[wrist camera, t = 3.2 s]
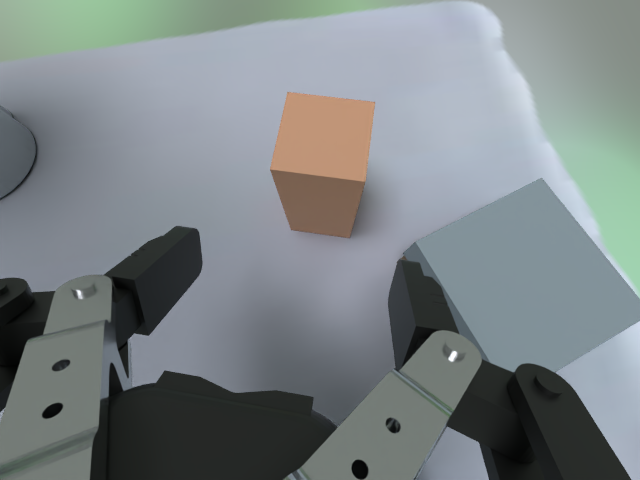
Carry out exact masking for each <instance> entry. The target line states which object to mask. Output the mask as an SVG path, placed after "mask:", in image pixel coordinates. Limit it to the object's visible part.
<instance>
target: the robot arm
mask: <svg viewBox="0 0 640 480" xmlns="http://www.w3.org/2000/svg"><path fill="white" fill-rule="evenodd" d="M35 152H36V145H35V141H34V137H33V135H32V134H31V132H30V131H29V130H28V129H27V128H26V127H25V126H24V125H23V124H21V123H20V122H18V121H17V120H15V119H14V118H12V115H11V112H9V111H8V110H6V109H5V108H3V107H2V106H0V198H1V197H3V196H5V195H6V194H8V193H9V192H10V191H12V190H13V189H14V188H15V187H16V186H17V185H18V184H20V183H21V182H22V180H23V179H24V178H25V176H26V175H27V174H28V172H29V170H30V168H31V166H32V164H33V161H34V158H35ZM201 269H202V254H201V245H200V236H199V232H198V230H197V229H195V228H189V227H182V226H176V227H174V228H173V229H172V230H170V231H169V232H168V233H166V234H165V235H164V236H160V237H158V238H155V239H153V240H151V241H148V242H147V243H146V244H144V245H143V246H142V247H140V248H139V250H136V251H135V252H134V253H132V254H131V256H128V257H127V258H126V259H124V260H123V261H122V262H120V263H119V264H118V265H116V266H115V267H114V268H112V269H111V270H110V271H108V272H107V273H106V274H104V275H88V276H82V277H79V278H76V279H73V280H71V281H68V282H66V283H65V284H63V285H62V286H60V287H59V288H58V289H57V290H56V291H50V292H31V290H30V287H29V285H28V283H27V282H26V281H25V280H23V279H20V278H5V279H0V412H1V411H2V410H3V409H4V408H5V410H4V413H3V416H2V420H1V423H0V480H417V478H418V476H419V474H420V473H421V471H422V469H423V467H424V466H425V464H426V462H427V460H428V459H429V457H430V455H431V454H432V452H433V450H434V448H435V447H436V445H437V443H438V441H439V440H440V438H441V436H442V434H443V433H444V431H445V429H446V428H447V426H448V427H450V428H452V429H454V430H456V431H458V432H460V433H462V434H464V435H466V436H468V437H470V438H472V439H474V440H476V441H478V442H479V444H480V448H481V451H482V455H483V459H484V462H485V466H486V470H487V473H488V477H489V480H631V478H630V477H629V475H628V474H627V472H626V470H625V469H624V467H623V466H622V464H621V462H620V461H619V459H618V458H617V456H616V455H615V453H614V451H613V450H612V448H611V447H610V445H609V444H608V442H607V440H606V439H605V437H604V436H603V434H602V433H601V431H600V429H599V428H598V426H597V425H596V423H595V422H594V420H593V418H592V417H591V415H590V414H589V412H588V410H587V409H586V407H585V406H584V404H583V403H582V401H581V399H580V398H579V396H578V395H577V393H576V392H575V390H574V389H573V388H572V387H571V386H570V384H568V383H567V382H566V381H565V380H564V379H563V378H562V377H560V376H559V375H557V374H556V373H554V372H553V371H551V370H549V369H547V368H545V367H542V366H540V365H536V364H531V363H525V364H521V365H519V366H518V367H517V368H516V370H515V372H511V371H509V370H507V369H504V368H502V367H499V366H497V365H494V364H492V363H490V362H487V361H485V360H484V359H482V358H481V355H480V352H479V350H478V349H477V348H476V346H475V345H474V344H473V343H472V342H471V341H469V340H468V339H467V338H465V337H464V336H462V335H460V334H459V331H458V328H457V326H456V323H455V321H454V318H453V316H452V313H451V311H450V308H449V306H448V303H447V301H446V298H444V297H445V296H444V293H443V291H442V288H441V286H440V285H439V284H438V283H437V282H436V281H435V280H434V279H433V278H432V277H429V276H424V274H423V271H422V268H421V265H420V263H419V262H415V261H409V260H402V259H399V261H398V263H397V266H396V270H395V273H394V277H393V281H392V284H391V288H390V292H389V298H388V309H389V317H390V325H391V333H392V341H393V349H394V357H395V365H396V368H394V369H392V370H391V371H390V372H389V373H388V374H387V375H386V376H385V377H384V378H383V379H382V380H381V381H380V382H379V383H378V385H377V386H376V387H375V388H374V389H373V390H372V391H371V392H370V393H369V394H368V395H367V397H366V398H365V399H364V400H363V401H362V402H361V403H360V404H359V405H358V406H357V407H356V408H355V410H354V411H353V412H352V413H351V414H350V415H349V416H348V417H347V418H346V419H345V420H344V421H343V423H342V424H341V425H340V426H339V427H337V426H336V425H334V424H333V423H332V422H331V421H330V420H328V419H327V418H326V417H324V416H323V415H321V414H319V413H317V412H315V411H313V410H312V404H313V397H310V396H304V395H299V394H293V393H287V392H282V391H276V390H275V391H261V392H246V393H233V392H230V391H228V390H226V389H224V388H222V387H220V386H218V385H216V384H214V383H212V382H210V381H208V380H206V379H203V378H201V377H198V376H192V375H187V374H181V373H175V372H170V371H164V372H163V374H162V375H161V377H160V378H159V379H158V381H157V382H156V383H151V384H145V385H141V386H137V387H133V386H132V362H131V344H130V340H129V338H130V337H131V336H132V335H133V334H134V333H136V334H142V335H148V336H149V335H150V334H151V332H152V331H153V330H154V329H155V328H156V326H157V325H158V324H159V323H160V322H161V320H162V319H163V318H164V317H165V316H166V314H167V313H168V312H169V311H170V310H171V308H172V307H173V306H174V305H175V304H176V302H177V301H178V300H179V299H180V298H181V297H182V295H183V294H184V293H185V292H186V291H187V289H188V288H189V287H190V286H191V285H192V283H193V282H194V281H195V280H196V279H197V277H198V276H199V274H200V272H201Z"/></svg>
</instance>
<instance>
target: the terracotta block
mask: <svg viewBox="0 0 640 480" xmlns="http://www.w3.org/2000/svg"><path fill="white" fill-rule="evenodd" d="M374 107H375V102H370V101H361V100H352V99H343V98H335V97H326V96H317V95H308V94H300V93H291V92H287V97H286V101H285V106H284V110H283V115H282V119H281V123H280V128H279V132H278V137H277V141H276V145H275V150H274V154H273V159H272V163H271V167H270V171H271V173H272V176H273V179H274V182H275V185H276V188H277V191H278V194H279V196H280V199H281V202H282V205H283V208H284V211H285V214H286V217H287V219H288V222H289V225H290V228H291V230H296V231H303V232H310V233H317V234H324V235H331V236H338V237H345V238H350V235H351V231H352V228H353V224H354V221H355V217H356V213H357V210H358V206H359V203H360V199H361V196H362V192H363V188H364V185H365V181H366V172H367V164H368V156H369V148H370V140H371V132H372V123H373V115H374Z"/></svg>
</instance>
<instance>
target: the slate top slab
mask: <svg viewBox="0 0 640 480" xmlns="http://www.w3.org/2000/svg"><path fill="white" fill-rule="evenodd" d="M403 254H404V255H405V257H406V259H407V260H409V261H415V262H419V263H420V265H421V268H422V271H423V274H424V276H429V277H432V278H433V279H434V280H435V281H436V282H437V283H438V284H439V285H440V286H441V288H442V291H443V293H444V296H445V297H444V298H446V301H447V303H448V306H449V308H450V311H451V313H452V316H453V318H454V321H455V323H456V326H457V328H458V331H459V334H460V335H462V336H464V337H465V338H467V339H468V340H469V341H471V342H472V343H473V344H474V345H475V346H476V348H477V349H478V350H479V352H480V355H481V358H482V359H484V360H485V361H487V362H490V363H492V364H494V365H497V366H499V367H502V368H504V369H507V370H509V371H511V372H515V370H516V368H517V367H518V366H519V365H521V364H525V363H531V364H536V365H540V366H542V367H545V368H547V369H549V370H551V371H553V372H554V373H555V372H556V371H558V370H560V369H561V368H563V367H564V366H566V365H568V364H569V363H571V362H573V361H574V360H576V359H578V358H579V357H581V356H583V355H584V354H586V353H587V352H589V351H591V350H592V349H594V348H596V347H597V346H599V345H601V344H602V343H604V342H606V341H607V340H609V339H611V338H612V337H614V336H615V335H617V334H619V333H620V332H622V331H624V330H625V329H627V328H629V327H630V326H632V325H634V324H635V323H637V322H639V321H640V299H639V298H638V296H637V295H636V294H635V293H634V291H633V290H632V289H631V288H630V286H629V285H628V284H627V283H626V281H625V280H624V279H623V278H622V277H621V275H620V274H619V273H618V272H617V270H616V269H615V268H614V267H613V265H612V264H611V263H610V262H609V260H608V259H607V258H606V257H605V255H604V254H603V253H602V252H601V251H600V249H599V248H598V247H597V246H596V244H595V243H594V242H593V241H592V239H591V238H590V237H589V236H588V234H587V233H586V232H585V231H584V229H583V228H582V227H581V226H580V225H579V223H578V222H577V221H576V220H575V218H574V217H573V216H572V215H571V213H570V212H569V211H568V210H567V208H566V207H565V206H564V205H563V203H562V202H561V201H560V200H559V199H558V197H557V196H556V195H555V194H554V192H553V191H552V190H551V189H550V187H549V186H548V185H547V184H546V182H545V181H544V180H543V179H542V178H540V179H538V180H536V181H534V182H532V183H530V184H528V185H526V186H524V187H522V188H520V189H519V190H517V191H515V192H513V193H511V194H509V195H507V196H505V197H503V198H501V199H499V200H497V201H495V202H493V203H491V204H489V205H487V206H485V207H483V208H481V209H479V210H477V211H475V212H473V213H471V214H469V215H467V216H465V217H463V218H461V219H459V220H457V221H455V222H453V223H451V224H450V225H448V226H446V227H444V228H442V229H440V230H438V231H436V232H434V233H432V234H430V235H428V236H426V237H424V238H422V239H420V240H418V241H416V242H415V243H414V244H413V245H411V246H410V247H409V248H408V249H407V250H406V251H405V252H404V253H403Z"/></svg>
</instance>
